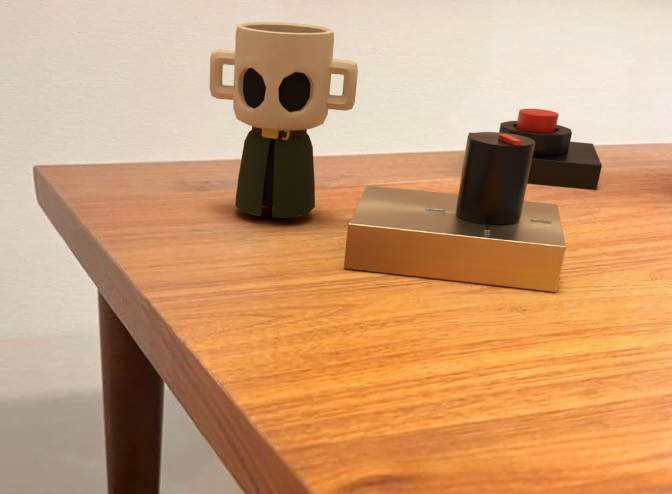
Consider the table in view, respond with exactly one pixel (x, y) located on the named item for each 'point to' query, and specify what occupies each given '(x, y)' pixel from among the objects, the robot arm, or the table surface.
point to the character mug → (280, 109)
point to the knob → (494, 177)
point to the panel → (453, 241)
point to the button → (537, 120)
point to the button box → (559, 158)
